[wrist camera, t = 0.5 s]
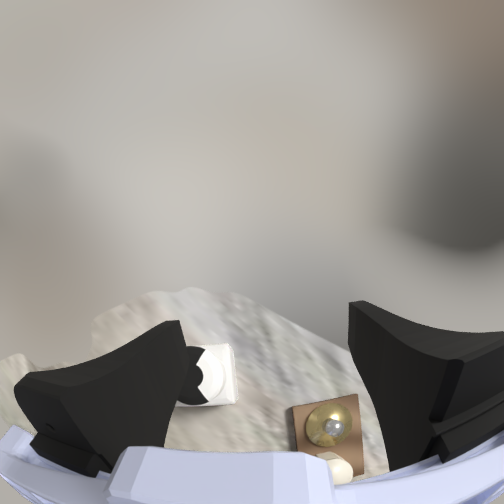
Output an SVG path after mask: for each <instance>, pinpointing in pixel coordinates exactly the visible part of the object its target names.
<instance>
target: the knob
mask: <svg viewBox="0 0 504 504" xmlns="http://www.w3.org/2000/svg"><path fill="white" fill-rule="evenodd" d="M352 424H353V420H352V416H351V413H350V412H349V410H348V409H347V408H346V407H344V406H343V405H340V404H337V403H326V404H323V405H321V406H319V407H317V408H316V409H315V410H313V411H312V413H311V414H310V415H309V417H308V419H307V422H306V433H307V436H308V437H309V439H310V440H311V441H312V442H313V443H315V444H316V445H319V446H323V447H330V446H334V445H337V444H339V443H340V442H342V441H343V440H344V439H345V438H346V437H347V436H348V435H349V433H350V431H351V429H352Z"/></svg>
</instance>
